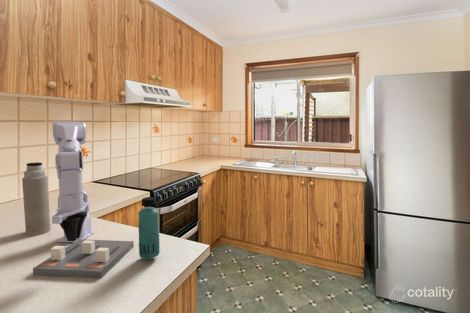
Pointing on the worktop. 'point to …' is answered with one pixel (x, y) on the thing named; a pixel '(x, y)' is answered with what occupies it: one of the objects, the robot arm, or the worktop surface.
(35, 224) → the thermos bottle
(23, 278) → the worktop surface
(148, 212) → the beverage bottle
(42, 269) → the switch panel
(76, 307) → the worktop surface
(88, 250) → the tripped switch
